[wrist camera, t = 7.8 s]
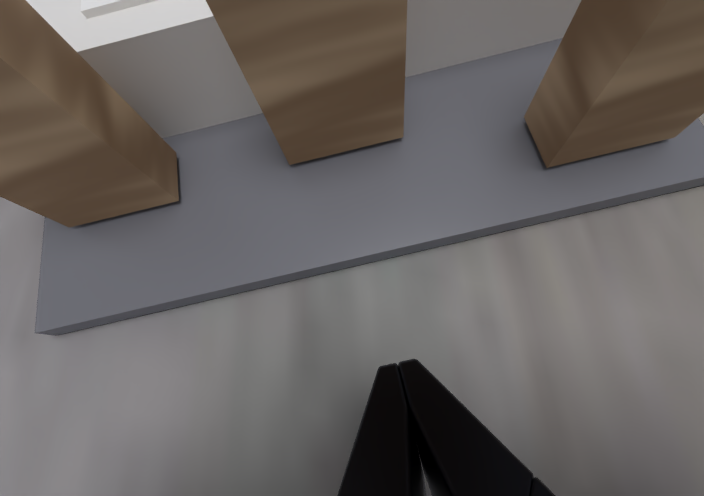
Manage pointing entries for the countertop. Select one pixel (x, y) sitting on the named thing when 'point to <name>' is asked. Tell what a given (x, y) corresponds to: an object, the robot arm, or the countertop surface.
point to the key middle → (321, 69)
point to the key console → (323, 159)
